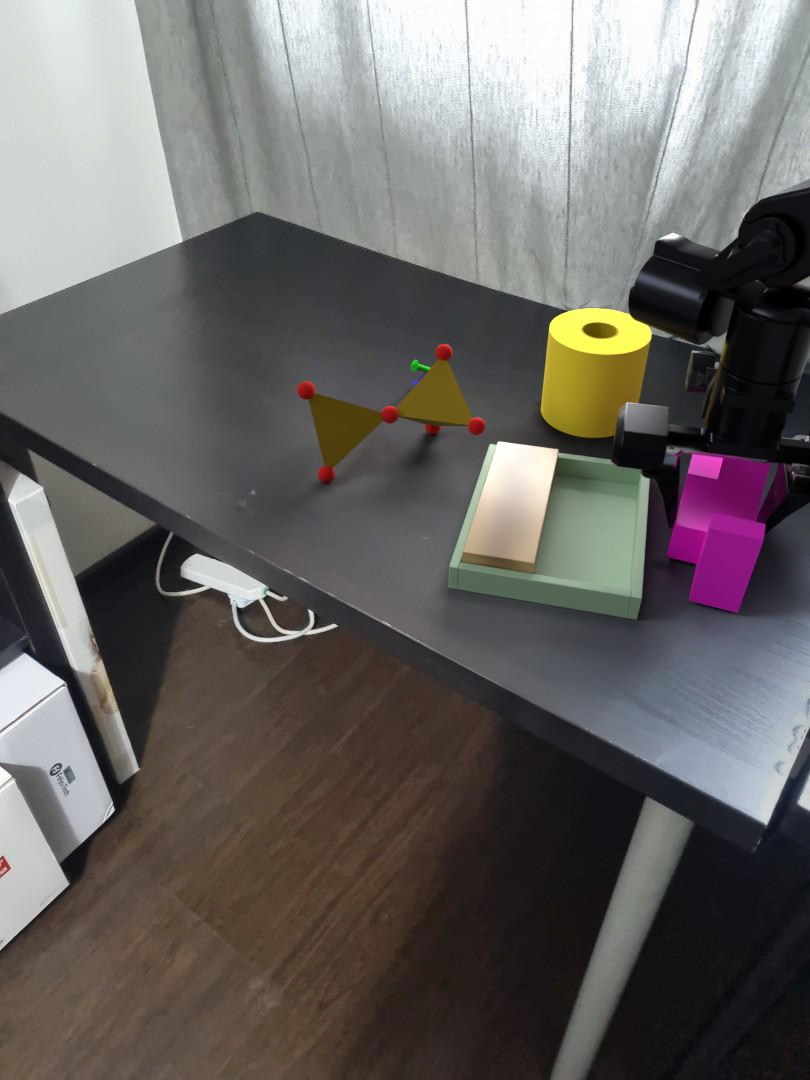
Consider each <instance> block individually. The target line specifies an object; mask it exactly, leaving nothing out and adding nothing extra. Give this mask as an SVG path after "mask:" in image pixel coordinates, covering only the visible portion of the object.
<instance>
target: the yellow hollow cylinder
mask: <svg viewBox="0 0 810 1080" xmlns="http://www.w3.org/2000/svg"><path fill="white" fill-rule="evenodd" d="M547 335H548V336H547V345H546V354H545V355H546V356H545V365H544V375H543V385H542V392H541V404H540V413H541V416H542V418H543V419H544V421H545V422H546V423H547V424H548V425H549V426H551V427H552V428H554V429H555V430H557V431H560V432H562V433H564V434H566V435H571V436H574V437H580V438H587V439H588V438H589V439H600V438H601V439H602V438H609V437H613V436H615V428H616V422H617V416H618V411H619V408H621V407H622V406H623V405H624V404H626V403H627V402H629V403H638V404H640V403H639V402H640V398H641V394H642V393H641V392H642V387H643V383H644V377H645V372H646V367H647V363H648V362H647V361H648V357H649V351H650V346H651V341H652V335H653V334H652V330H651V328H650V326H648V325H646V324H643V323H640V322H638V321H635V320H634V319H633V318H632V317H631V315H630V313H626V312H623V311H619V310H614V309H608V308H598V307H594V308H593V307H591V308H580V309H579V308H578V309H573V310H569V311H566V312H563V313H560V314H559V315H557V316H556V317H554V318H553V319H552V320H551V322H550V323H549V328H548V334H547Z"/></svg>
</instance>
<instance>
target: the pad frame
mask: <svg viewBox="0 0 810 1080" xmlns="http://www.w3.org/2000/svg"><path fill="white" fill-rule="evenodd" d="M496 446H497V444H495V443H494V444H493V443H489V444H488V447H487V450H486V454H485V457H484V460H483V463H482V465H481V469H480V472H479V475H478V478H477V481H476V484H475V486H474V487H475V488H474V490H473V493H472V496H471V498H470V499H471V500H470V502H469V505H468V508H467V511H466V514H465V518H464V520H463V524H462V526H461V529H460V532H459V536H458V539H457V542H456V545H455V547H454V550H453V554H452V557H451V559H450V563H449V565H448V586H447V587H448V589H453V590H459V591H465V592H471V593H476V594H481V595H486V596H487V595H488V596H495V597H500V598H506V599H510V600H511V599H512V600H518V601H523V602H529V603H534V604H541V605H546V606H553V607H559V608H565V609H570V610H574V611H575V610H576V611H583V612H588V613H594V614H598V615H599V614H600V615H605V616H611V617H617V618H623V619H629V620H634V621H637V620H638V617H639V613H640V608H641V604H642V601H643V591H644V590H643V587H644V576H645V575H644V574H645V559H646V545H647V531H648V527H647V526H648V514H649V499H650V483H651V479H649V478H645V477H643V476H642V474H641V470H640V469H633V468H625V467H618V466H616V465H615V464H614V463H612V462H611V459H609V458H600V457H595V456H594V457H593V456H586V455H580V454H579V455H578V454H571V453H564V452H559V454H558V462H557V470H556V477H555V481H554V486H553V491H552V495H551V500H550V505H549V510H548V514H547V519H546V524H545V528H544V533H543V538H542V542H541V547H540V552H539V557H538V561H537V566H536V571H535V574H530V573H524V572H518V571H512V570H506V569H499V568H493V567H487V566H481V565H475V564H469V563H463V562H462V554H463V549H464V546H465V543H466V540H467V537H468V533H469V530H470V527H471V524H472V521H473V518H474V515H475V511H476V508H477V505H478V502H479V499H480V496H481V493H482V490H483V486H484V483H485V480H486V477H487V474H488V471H489V468H490V464H491V461H492V458H493V455H494V452H495V449H496Z"/></svg>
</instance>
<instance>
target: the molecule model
mask: <svg viewBox="0 0 810 1080" xmlns="http://www.w3.org/2000/svg"><path fill="white" fill-rule="evenodd" d="M452 356H453V349H452V347H451V346H450V345H449V344H447V343H442V344H439V345H437V347H436V349H435V357H436V359H437V360H436V361H435V362H434V363H433V365H432V366H431V367H430V366H426V365H423V364H420V363H419V360H418V359H414V360H413V361H412V362H411V364H410V370H411V372H416V371H417V370H418V371H420V372H423V373H422V375H421V376H420V377H419V379H418V380H413V384H414V386H413V387H412V389H411V390H410V391H409V392H408V393H407V395H406V396H404V398H402V400H401V401H400V402H399V404H398V405H397V406H396V407H395V406H392V405H388V406H387V405H386V406H385V407H384V408H382V410H381V411H378V410H375V409H371V408H368V407H365V406H361V405H358V404H354V403H351V402H348V401H344V400H340V399H338V398H334V397H331V396H327V395H323V394H321V393H316V387H315V385H314V383H312V382H311V381H307V380H306V381H302V382H301V383H299V384H298V386H297V388H296V391H297V395H298V396H299V398H300V399H302V400H305V401H306V400H308V405H309V407H310V411H311V415H312V420H313V425H314V428H315V432H316V437H317V441H318V445H319V450H320V454H321V458H322V462H323V466H321V467H320V468H319V469H318V471H317V477H318V479H319V481H320V482H322V483H323V484H327V483H329V484H330V483H331V482H332V481H334V479H335V477H336V471H335V470H334V468H335V467H336V466H337V465H339V463H340V462H342V460H343V459H344V458H345V457H347V456H348V455H349V454H350V453H351V452H353V450H354V449H355V448H356V447H358V446H359V445H360V444H361V443H362V442H363V441H364V440H365V439H366V438H367V437H368V436H369V435H370V434H371V433H372V432H374V430H375V429H377V427H379V426H380V425H381V424H382V423H383V422H384V423H386V424H388V425H389V424H394V423H395V422H397V421H398V419H399V418H401V419H405V420H408V421H413V422H416V423H420V424H422V425H424V429H425V431H426V432H427V433H428V434H429V435H436V434H438V433H439V432H440V431H441V428H442V427H467V428H468V432H469V433H470V434H471V435H474V436H479V435H480V436H481V434H483V433H485V429H486V422H485V421H484V419H482V418H481V417H478V416H477V417H473V415H472V412H471V410H470V408H469V405H468V403H467V401H466V398H465V397H464V395H463V392H462V390H461V388H460V385H459V383H458V381H457V378H456V377H455V376H456V375H455V374H454V371H453V370H452V368H451V365H450V363H449V360H451V359H452Z"/></svg>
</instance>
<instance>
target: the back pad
mask: <svg viewBox="0 0 810 1080" xmlns="http://www.w3.org/2000/svg"><path fill="white" fill-rule="evenodd" d="M496 445H497V446H496V449H495V452H494V455H493V458H492V461H491V464H490V468H489V471H488V474H487V477H486V480H485V483H484V486H483V490H482V493H481V496H480V499H479V502H478V505H477V508H476V511H475V515H474V518H473V521H472V524H471V527H470V530H469V533H468V537H467V540H466V543H465V546H464V549H463V554H462V562H463V563H469V564H475V565H481V566H487V567H493V568H499V569H506V570H512V571H518V572H524V573H530V574H535V571H536V566H537V561H538V557H539V552H540V547H541V542H542V538H543V533H544V528H545V524H546V519H547V514H548V510H549V505H550V500H551V495H552V491H553V486H554V481H555V477H556V470H557V462H558V454H559V453H560V449H558V448H552V447H545V446H535V445H528V444H521V443H514V442H506V441H497V443H496Z"/></svg>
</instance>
